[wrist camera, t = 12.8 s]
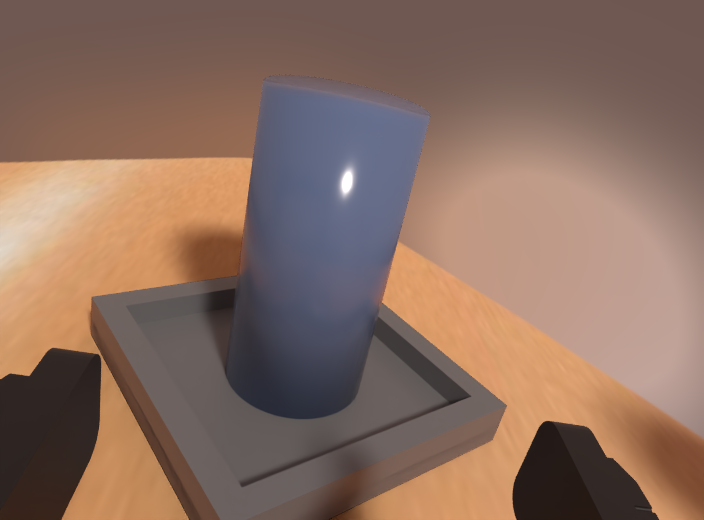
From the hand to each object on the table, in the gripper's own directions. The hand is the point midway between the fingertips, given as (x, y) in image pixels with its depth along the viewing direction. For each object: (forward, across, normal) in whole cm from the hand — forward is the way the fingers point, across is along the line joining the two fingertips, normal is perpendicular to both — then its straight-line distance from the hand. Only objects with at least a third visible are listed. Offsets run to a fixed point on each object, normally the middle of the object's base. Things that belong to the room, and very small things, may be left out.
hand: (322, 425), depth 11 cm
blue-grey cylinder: (+11, 0, +7) cm, 13 cm away
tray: (+11, 0, +8) cm, 14 cm away
